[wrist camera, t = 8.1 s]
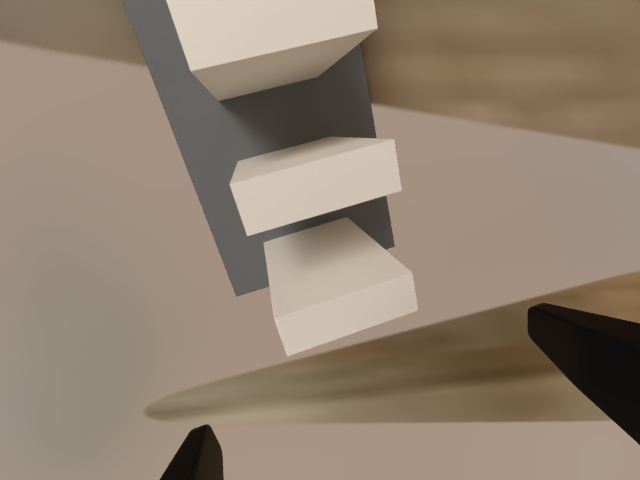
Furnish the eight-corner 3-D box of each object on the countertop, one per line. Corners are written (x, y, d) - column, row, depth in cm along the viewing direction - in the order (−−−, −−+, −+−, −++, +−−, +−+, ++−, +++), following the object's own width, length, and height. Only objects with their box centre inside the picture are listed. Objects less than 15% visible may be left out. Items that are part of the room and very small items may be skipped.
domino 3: (263, 242, 18) (273, 318, 11) (346, 216, 19) (412, 272, 11) (271, 267, 19) (287, 356, 11) (352, 241, 19) (418, 310, 12)
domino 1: (206, 64, 15) (164, -5, 7) (309, 40, 15) (367, -45, 8) (218, 101, 15) (190, 71, 8) (317, 77, 16) (377, 28, 9)
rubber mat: (275, -419, 11) (276, -458, 11) (389, 242, 21) (394, 246, 20) (-28, -403, 10) (-49, -445, 9) (236, 290, 19) (236, 296, 19)
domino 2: (237, 161, 16) (229, 184, 9) (330, 136, 17) (394, 139, 10) (247, 191, 17) (247, 236, 10) (336, 166, 18) (401, 190, 10)
